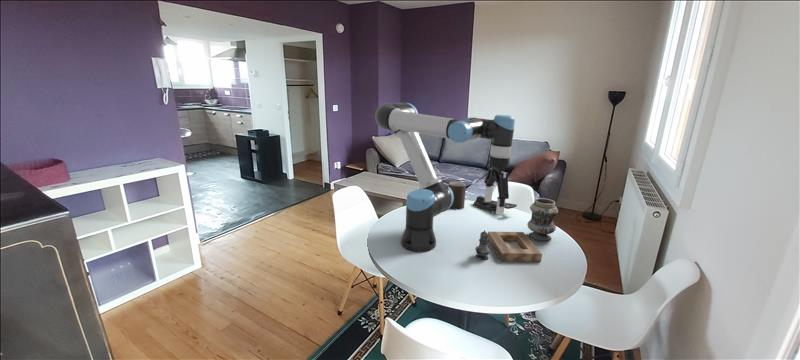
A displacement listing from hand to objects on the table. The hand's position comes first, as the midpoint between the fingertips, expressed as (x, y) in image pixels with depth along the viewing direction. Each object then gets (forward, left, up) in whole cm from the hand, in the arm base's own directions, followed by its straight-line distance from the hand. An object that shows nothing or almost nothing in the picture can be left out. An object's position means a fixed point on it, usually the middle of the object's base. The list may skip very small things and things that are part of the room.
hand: (493, 207), depth 133 cm
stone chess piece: (-4, -5, -20) cm, 21 cm away
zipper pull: (+16, +48, -20) cm, 55 cm away
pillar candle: (-4, +53, -20) cm, 57 cm away
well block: (+11, +2, -20) cm, 23 cm away
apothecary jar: (+28, +14, -20) cm, 37 cm away
